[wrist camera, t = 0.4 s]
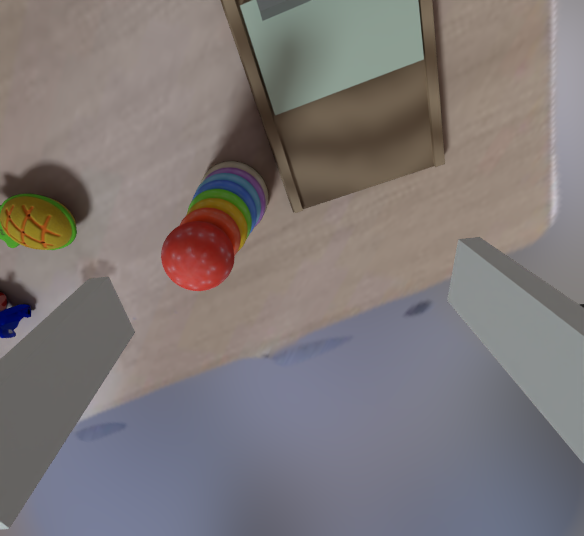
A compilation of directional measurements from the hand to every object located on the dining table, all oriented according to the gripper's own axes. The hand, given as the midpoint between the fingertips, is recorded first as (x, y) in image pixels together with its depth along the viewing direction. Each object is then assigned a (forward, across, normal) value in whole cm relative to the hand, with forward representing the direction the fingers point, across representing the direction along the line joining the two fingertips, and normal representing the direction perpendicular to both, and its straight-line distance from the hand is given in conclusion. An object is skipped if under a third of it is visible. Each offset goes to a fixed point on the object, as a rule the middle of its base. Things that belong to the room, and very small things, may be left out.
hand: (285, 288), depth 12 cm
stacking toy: (+26, -6, -3) cm, 27 cm away
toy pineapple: (+26, -30, -3) cm, 40 cm away
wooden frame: (+26, +7, +7) cm, 28 cm away
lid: (+25, +6, +11) cm, 28 cm away
